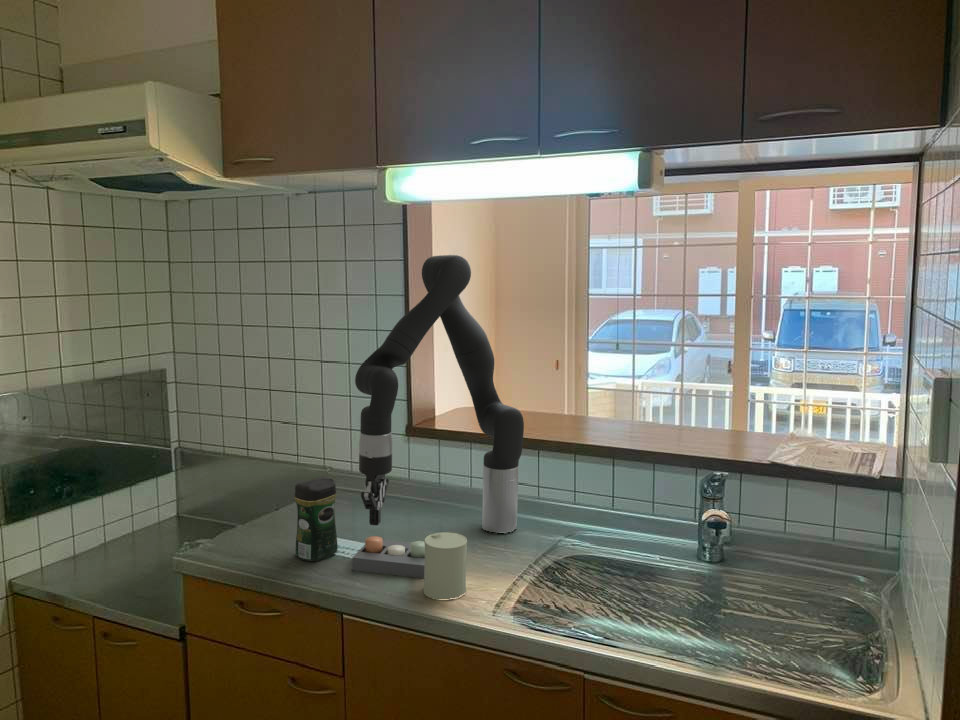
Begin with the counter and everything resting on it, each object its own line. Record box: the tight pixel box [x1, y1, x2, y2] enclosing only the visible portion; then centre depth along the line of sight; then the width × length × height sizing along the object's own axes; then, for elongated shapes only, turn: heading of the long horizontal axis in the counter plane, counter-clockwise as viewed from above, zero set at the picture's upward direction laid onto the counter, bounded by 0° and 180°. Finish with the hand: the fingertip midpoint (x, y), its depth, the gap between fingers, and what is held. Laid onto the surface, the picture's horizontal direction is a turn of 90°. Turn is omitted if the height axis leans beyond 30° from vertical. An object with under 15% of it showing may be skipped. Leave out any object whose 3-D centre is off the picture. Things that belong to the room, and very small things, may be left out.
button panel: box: [351, 539, 425, 579], centre depth 172 cm, size 12×17×3 cm
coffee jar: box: [294, 475, 339, 562], centre depth 175 cm, size 10×8×19 cm
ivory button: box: [388, 545, 405, 556], centre depth 172 cm, size 4×4×3 cm
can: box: [423, 531, 468, 600], centre depth 158 cm, size 9×9×12 cm
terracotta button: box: [364, 536, 384, 554], centre depth 173 cm, size 4×4×3 cm
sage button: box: [410, 540, 425, 559], centre depth 171 cm, size 4×4×3 cm
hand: (374, 524), depth 172 cm, fingers closed
